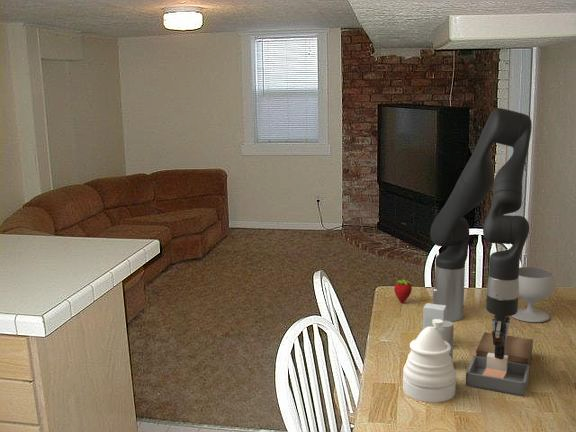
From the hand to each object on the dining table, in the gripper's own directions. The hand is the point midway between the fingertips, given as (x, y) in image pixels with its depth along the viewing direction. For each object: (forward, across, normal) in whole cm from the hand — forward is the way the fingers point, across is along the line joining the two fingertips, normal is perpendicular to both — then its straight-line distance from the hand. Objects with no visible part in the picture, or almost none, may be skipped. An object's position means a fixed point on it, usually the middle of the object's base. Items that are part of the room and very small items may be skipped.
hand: (499, 357), depth 159 cm
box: (+6, +2, 0) cm, 6 cm away
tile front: (+3, +4, -1) cm, 5 cm away
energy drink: (+6, -2, -15) cm, 16 cm away
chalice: (+6, -48, +3) cm, 49 cm away
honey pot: (+6, +12, -15) cm, 20 cm away
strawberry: (+6, -44, -38) cm, 59 cm away
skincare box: (+6, -14, -20) cm, 25 cm away
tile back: (+3, -3, -1) cm, 4 cm away
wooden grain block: (+6, -11, 0) cm, 13 cm away
